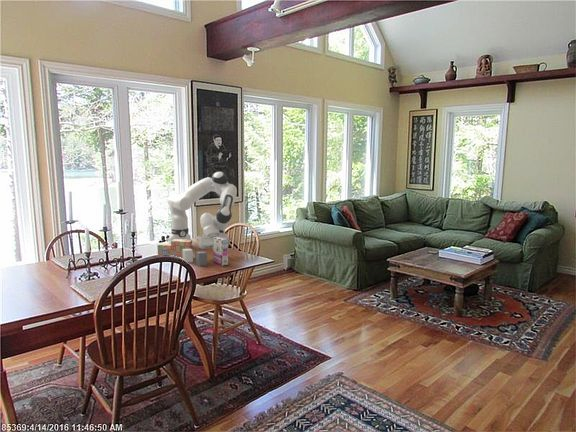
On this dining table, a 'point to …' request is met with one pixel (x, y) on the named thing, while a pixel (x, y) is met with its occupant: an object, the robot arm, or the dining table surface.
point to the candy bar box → (221, 251)
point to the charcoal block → (201, 258)
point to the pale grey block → (187, 255)
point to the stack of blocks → (174, 247)
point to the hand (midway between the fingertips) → (217, 252)
